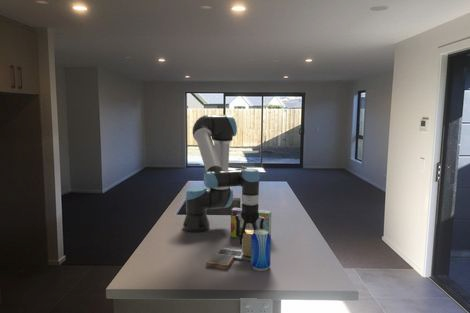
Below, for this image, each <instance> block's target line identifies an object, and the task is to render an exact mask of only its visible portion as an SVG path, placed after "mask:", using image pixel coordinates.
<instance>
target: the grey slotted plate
mask: <svg viewBox="0 0 470 313" xmlns="http://www.w3.org/2000/svg"><path fill="white" fill-rule="evenodd" d="M217 254H223V255H232V256H234V261H235V260H236V261H243V262H251V257H245V256H243V252H242V249H234V248H227V247H226V248H225V247H222V249H220V250H219V252H218V253H217Z"/></svg>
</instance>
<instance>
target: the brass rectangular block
mask: <svg viewBox="0 0 470 313" xmlns="http://www.w3.org/2000/svg"><path fill="white" fill-rule="evenodd" d="M253 231H254V230H245V231H244V233H243V257H246V258H251V236H252V234H253V233H254V232H253Z"/></svg>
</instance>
